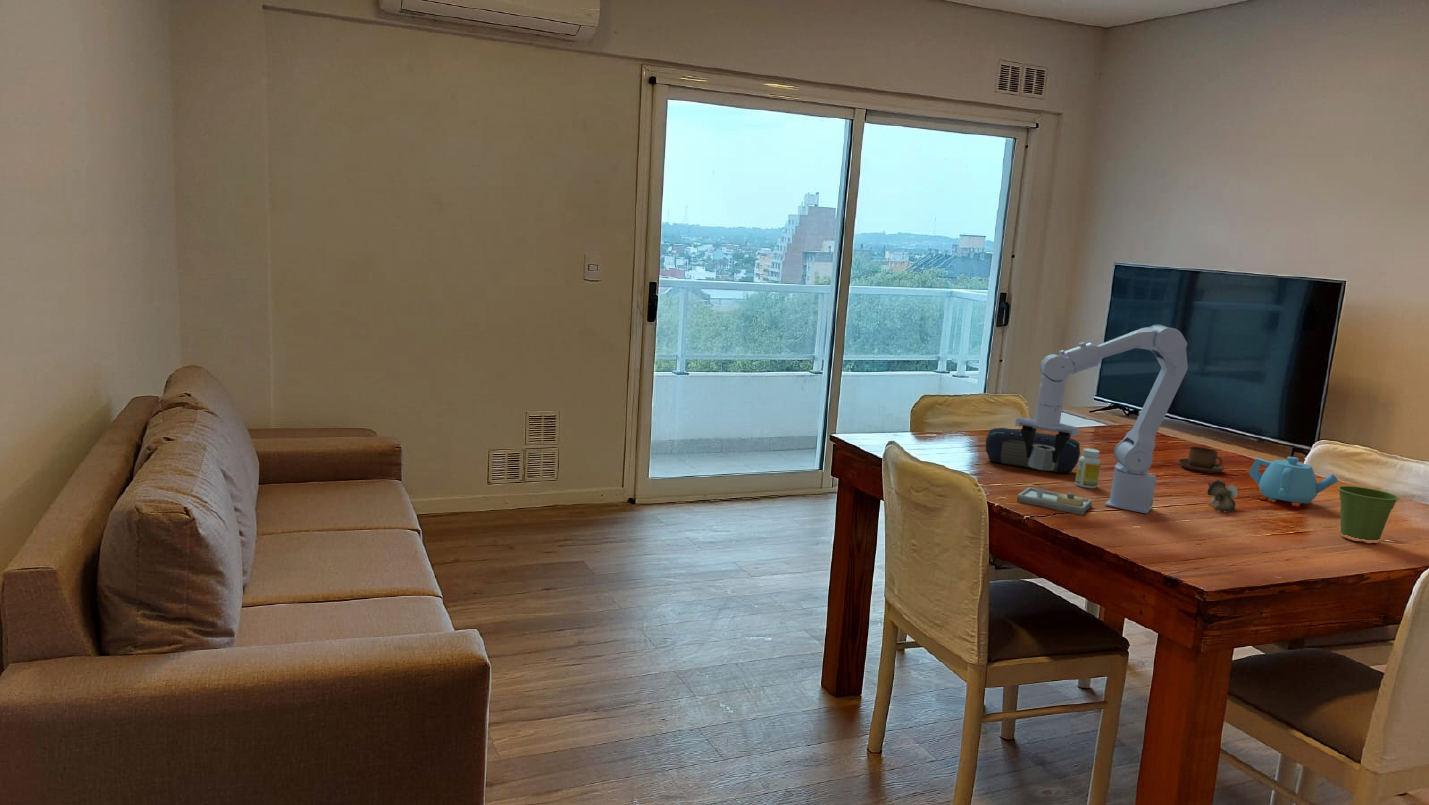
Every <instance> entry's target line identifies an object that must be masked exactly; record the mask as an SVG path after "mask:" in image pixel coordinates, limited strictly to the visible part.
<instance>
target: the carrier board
mask: <svg viewBox="0 0 1429 805" xmlns="http://www.w3.org/2000/svg"><path fill="white" fill-rule="evenodd" d="M1036 495H1037V488H1035V487H1030V486H1029V487H1027V488H1026V489H1024V490H1023V491H1021V492H1020V493H1018V494H1017V498H1016V501H1017V502H1019V503H1024V504H1027V505H1032V506H1038V507H1043V508H1046V509H1053V510H1057V511H1063V512H1067V513H1072V514H1076V515H1081V516H1082V515H1083V514H1085V513H1086V512H1087V511H1088V510H1089V509H1090V508H1091V507H1092V503H1093V500H1092V499H1089V498H1084V497H1080V496H1077V495H1076V494H1075V493H1071V492H1068V493H1066V494H1065V493H1061V492H1055V491H1050V490H1044V489H1043V496H1042V498H1038V497H1036Z"/></svg>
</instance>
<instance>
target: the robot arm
mask: <svg viewBox="0 0 1429 805" xmlns="http://www.w3.org/2000/svg"><path fill="white" fill-rule="evenodd" d="M1187 346H1188V342H1187V340H1186V339H1185V336H1184V335H1183V334H1182V332H1181V331H1180V330H1179V329H1177V328H1174V327H1168V326H1165V325H1163V324H1153V325H1151V326H1146V327H1141V328H1139V329H1136V330H1133V331H1131V332H1129V333H1126V334H1123V335H1120V336H1117V337H1115V338H1113V339H1110V340H1108V341H1105V342H1102V343H1100V344H1097V345H1096V344H1094V343H1091V342H1087V343H1086V342H1084V341H1083V342H1079V343H1078V346H1075V347H1073V348H1071V349H1068V350H1064V349H1062V350H1059V351H1058V353H1059V354H1054V353H1053V354H1052V353H1051V354H1049V355H1046V356H1045V357H1044V358H1043V359H1042V360H1041V362H1040V363H1039V371H1040V373H1041V378H1040V383H1039V389H1038V395H1037V397H1038V398H1037V403H1036V404H1037V405H1036V409H1035V410H1036V411H1035V418H1025V417H1021V416H1020V417H1016V418H1015V425H1014V426H1015V427H1022V428H1021V429H1020V430H1021V433H1022V436H1023V438H1024V442H1025V446H1026V454H1027V458H1029V457H1030V451H1031V446H1032V445H1033V442H1034V437H1035V433H1036V432H1037V430H1040V431H1046V432H1047V431H1048V432H1051V433H1052V432H1053V433H1057V434H1055V435H1056V442H1055V452H1054V457H1053V463H1057V462H1058V459H1059V456H1060V454H1061V451H1062V449H1063V448H1064V446H1065V444H1066V443H1067V441H1068V440H1069V438H1071V437H1072V436H1073V437H1078V436H1079V431H1080V426H1079V427H1078V426H1073V425H1068V424H1064V423H1061V417H1062V412H1063V411H1062V410H1063V403H1064V397H1065V388H1066V387H1065V386H1066V381H1067V380H1066V379H1068V377H1069V376H1070V375H1073V374H1076V373H1079V372H1082V371H1086V370H1088V369H1091V368H1094V367H1097V366H1098V365H1099V364H1100V363H1101V361H1102V360H1103V359H1104V358H1107V357H1111V356H1114V355H1116V354H1117V355H1118V354H1120V353H1124V352H1127V351H1131V350H1134V349H1142V350H1146V351H1150V352H1152V354H1153V355H1154V356H1155V358H1156V360H1157V362H1158V364H1159V365H1160V371H1159V373H1158V375H1157V376H1156V379H1155V381H1154V384H1153V386H1152V388H1151V389H1150V390H1149V391H1150V392H1149V394H1148V396H1147V398H1146V400H1145V402H1144V404H1143V406H1142V409H1141V411H1140V412H1139V413H1138V417H1137V418H1136V421H1135V422H1134V425H1133V427H1132V428H1131V429H1130V430H1129V431H1128V432H1126V433H1125V435H1124V438H1122V440H1121V441H1120V442H1117V444H1116V445H1115V448H1114V449H1113V450H1114V451H1113V455H1114V457H1115V458H1114V459H1115V460H1116V461H1117V463H1116V464H1115V465H1114V470H1113V476H1112V483H1111V490H1110V497H1109V499H1108V500H1106V502H1105V503H1104V505H1105V506H1107V507H1112V508H1117V509H1120V510H1121V509H1122V510H1128V511H1131V512H1138V513H1143V514H1148V513H1149V512H1150V510H1151V509H1152V508H1153V504H1154V496H1155V495H1154V494H1155V488H1156V482H1157V481H1156V480H1157V475H1155V474H1151V473H1148V470H1150V467H1151V466H1152V464H1153V453H1154V450H1155V448H1156V440H1155V438H1156V435H1157V433H1158V431H1159V429H1160V427H1161V425H1162V423H1163V421H1164V419H1165V417H1166V415H1167V413H1168V411H1169V408H1170V407H1171V404H1172V402H1173V400H1174V398H1175V396H1176V394H1177V392H1178V390H1179V388H1180V385H1181V384H1182V381H1183V380H1184V378H1185V375H1186V373H1187V372H1188V367H1189V366H1188V355H1187Z"/></svg>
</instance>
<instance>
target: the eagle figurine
mask: <svg viewBox="0 0 1429 805" xmlns="http://www.w3.org/2000/svg"><path fill="white" fill-rule="evenodd" d="M1207 485H1208V489H1207V491H1206V492H1207V495H1208V496H1213V498H1212V499H1211V500H1210V501H1209V503H1208V506H1211V505H1214V504H1215V503H1217V502H1218V503H1217V504H1215V506H1214V507H1213V510H1215V511H1216V510H1219V511H1232V512H1234V510H1235V508H1236V504H1237V502H1236V501H1235V500H1234V499H1233V498H1237V497H1238V494H1239V491H1238V488H1237V487H1236V486H1234V485H1233V484H1229V485H1228V486H1226V482H1223V481H1220V480H1219V479H1218V480H1215V481H1213V482H1212V483H1210V482H1209V481H1208V482H1207Z"/></svg>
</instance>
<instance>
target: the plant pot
mask: <svg viewBox="0 0 1429 805" xmlns="http://www.w3.org/2000/svg"><path fill="white" fill-rule="evenodd" d="M1336 489H1337V490H1338V491H1339V500H1340V534H1341V533H1342V534H1343V535H1348V536H1351V537H1354V538H1359V539H1365V540H1378V539H1379V540H1380V539H1381V538H1382V537H1381V536H1382V535H1383V532H1384V529H1385V527H1386V524H1387V521H1388V519H1389V516H1390V514H1391V512H1392V510H1393V509H1394V507H1395V505H1396V503H1397V501H1399V500H1400V499H1401V498H1400V496H1399V495H1396V494H1394V493H1391V492H1387V491H1385V490H1378V489H1374V488H1368V487H1363V486H1362V487H1361V486H1353V485H1338V486H1337V488H1336Z"/></svg>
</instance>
